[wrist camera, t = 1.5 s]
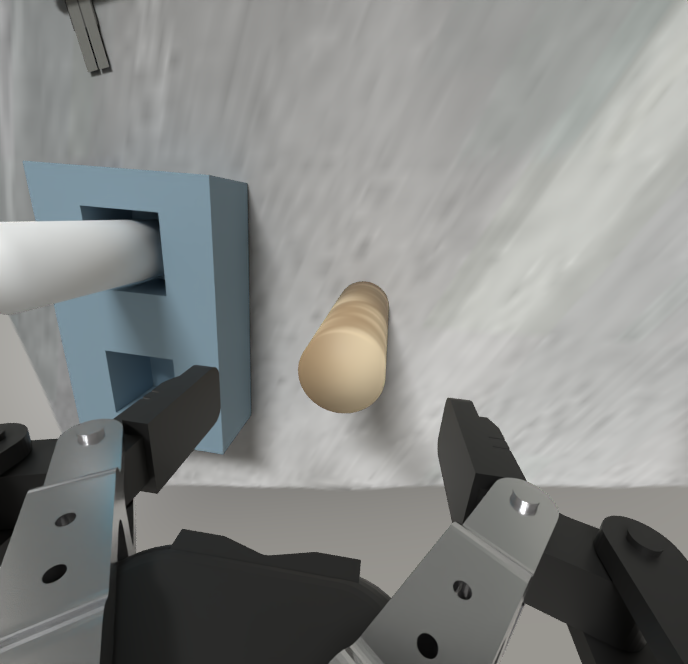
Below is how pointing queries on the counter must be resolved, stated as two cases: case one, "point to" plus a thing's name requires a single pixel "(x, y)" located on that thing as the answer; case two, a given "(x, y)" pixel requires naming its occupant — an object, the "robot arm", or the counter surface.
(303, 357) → the beech pin
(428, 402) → the counter surface
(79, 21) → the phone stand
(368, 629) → the robot arm
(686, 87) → the counter surface
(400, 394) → the counter surface
